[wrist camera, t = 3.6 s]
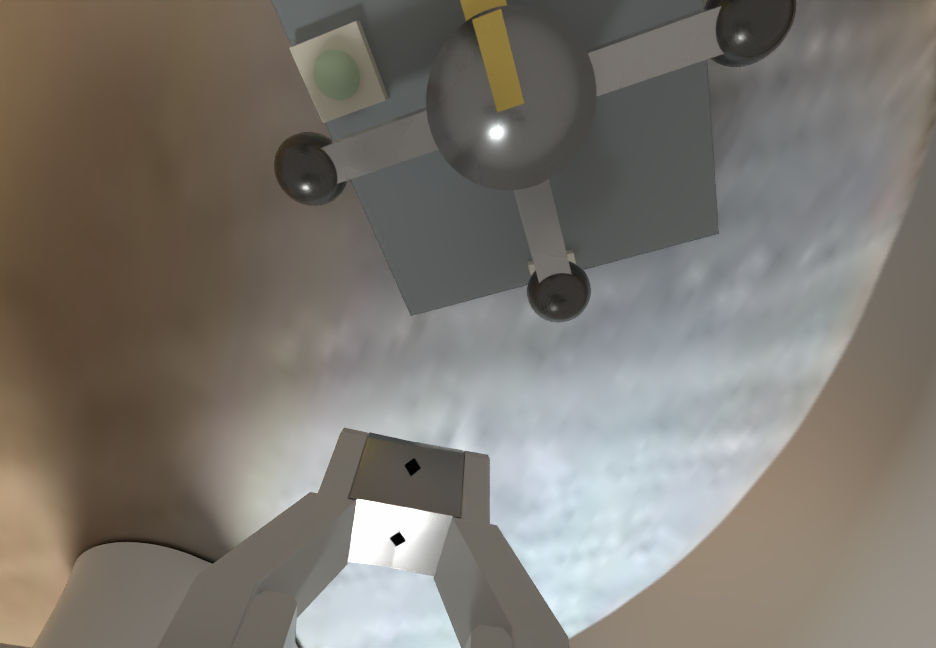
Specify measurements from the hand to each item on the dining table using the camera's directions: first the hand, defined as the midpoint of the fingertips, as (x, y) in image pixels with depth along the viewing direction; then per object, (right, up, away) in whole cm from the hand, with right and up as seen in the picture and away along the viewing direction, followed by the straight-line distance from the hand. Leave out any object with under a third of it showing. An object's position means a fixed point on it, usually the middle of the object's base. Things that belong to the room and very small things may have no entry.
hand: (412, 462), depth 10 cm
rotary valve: (+3, +13, +11) cm, 17 cm away
